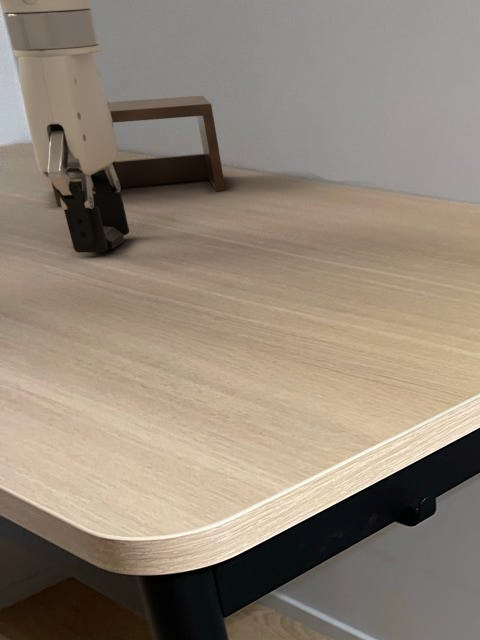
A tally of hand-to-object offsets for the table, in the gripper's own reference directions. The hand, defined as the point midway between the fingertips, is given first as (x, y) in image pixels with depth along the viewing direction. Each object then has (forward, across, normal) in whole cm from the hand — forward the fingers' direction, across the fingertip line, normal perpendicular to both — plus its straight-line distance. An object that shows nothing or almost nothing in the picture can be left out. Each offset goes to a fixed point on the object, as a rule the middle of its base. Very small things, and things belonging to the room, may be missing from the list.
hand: (102, 241), depth 100 cm
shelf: (+1, -30, -5) cm, 30 cm away
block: (+1, 0, 0) cm, 1 cm away
